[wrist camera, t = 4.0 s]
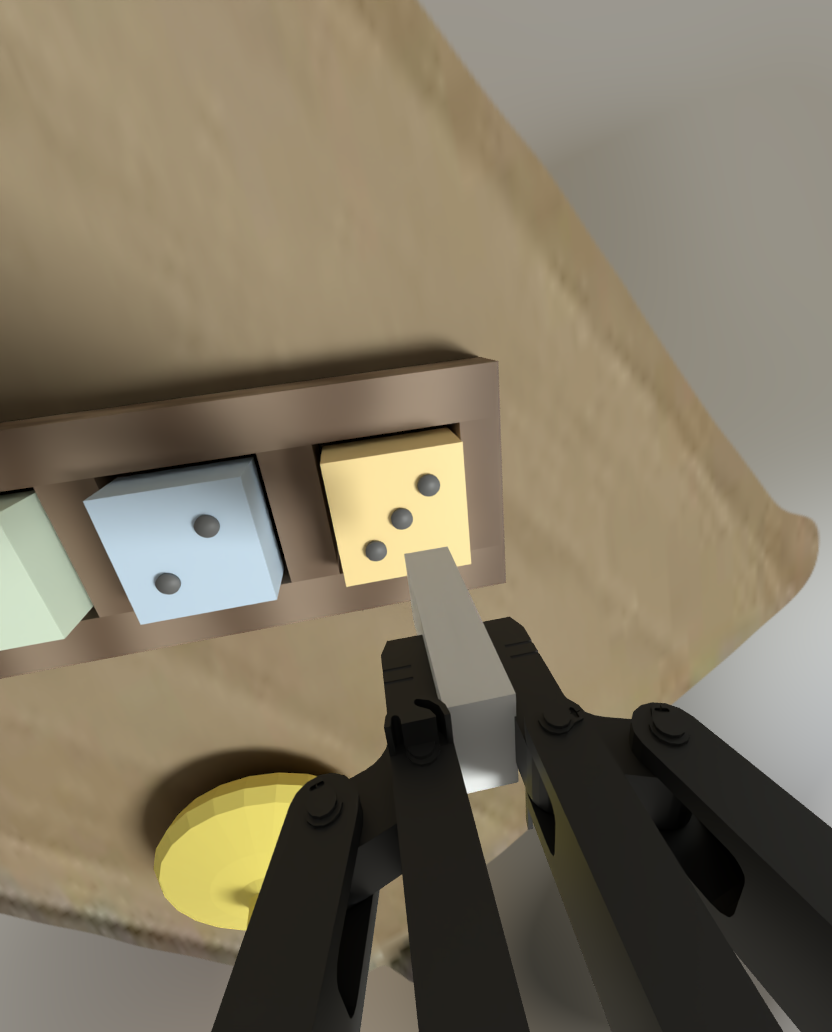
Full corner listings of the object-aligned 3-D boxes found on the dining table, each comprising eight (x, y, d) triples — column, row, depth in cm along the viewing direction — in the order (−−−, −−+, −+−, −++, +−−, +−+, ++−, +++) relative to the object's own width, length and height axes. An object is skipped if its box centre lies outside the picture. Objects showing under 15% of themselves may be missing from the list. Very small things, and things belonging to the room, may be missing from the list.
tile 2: (164, 589, 23) (138, 627, 20) (117, 477, 20) (80, 502, 17) (284, 567, 23) (276, 602, 21) (253, 456, 21) (239, 478, 18)
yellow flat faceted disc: (197, 728, 30) (158, 839, 23) (409, 763, 34) (425, 863, 28) (148, 871, 34) (104, 996, 28) (339, 884, 39) (339, 994, 33)
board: (-24, 651, 25) (-68, 691, 22) (-165, 445, 20) (-244, 464, 17) (489, 557, 28) (505, 582, 25) (479, 356, 23) (498, 361, 20)
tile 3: (345, 557, 24) (346, 589, 21) (322, 446, 21) (319, 465, 18) (456, 537, 24) (472, 565, 21) (447, 427, 22) (463, 443, 19)
